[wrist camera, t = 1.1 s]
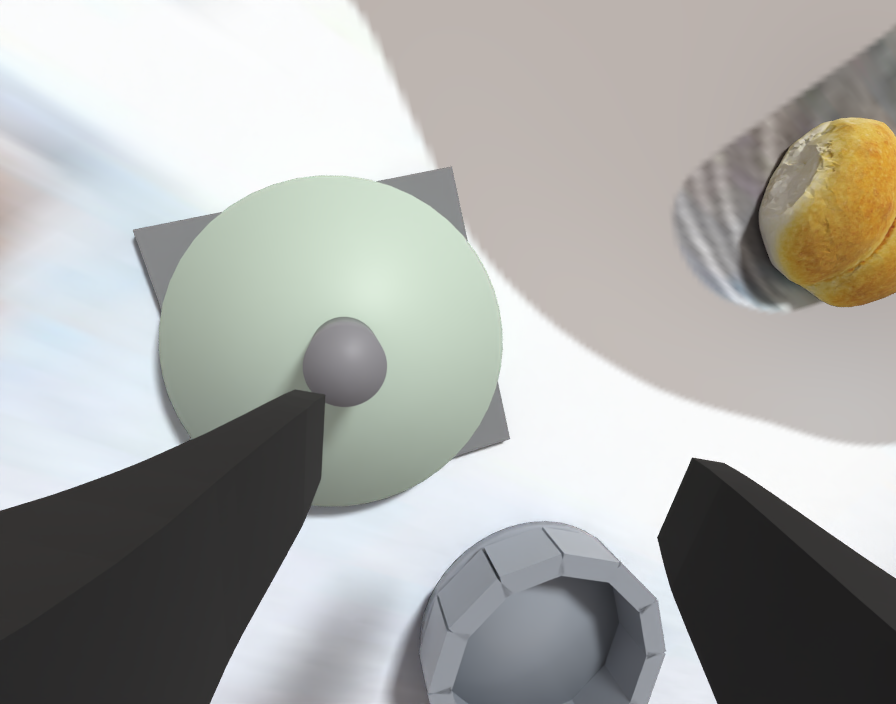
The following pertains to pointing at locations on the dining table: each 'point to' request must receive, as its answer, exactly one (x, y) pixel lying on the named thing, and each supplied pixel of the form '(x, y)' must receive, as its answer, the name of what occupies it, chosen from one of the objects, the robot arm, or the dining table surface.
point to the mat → (431, 187)
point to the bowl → (540, 623)
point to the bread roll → (835, 212)
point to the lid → (337, 328)
